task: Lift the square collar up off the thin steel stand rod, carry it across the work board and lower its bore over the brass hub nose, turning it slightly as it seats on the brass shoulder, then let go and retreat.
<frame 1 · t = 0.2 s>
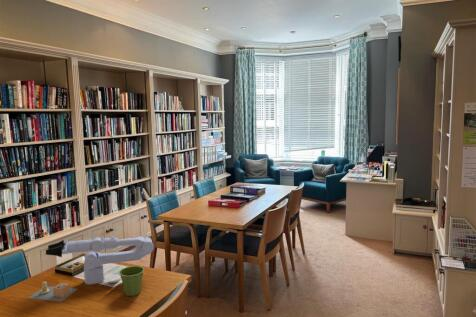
hand: (47, 250, 170), 21 cm above the table, fingers open, 7 cm apart
work board: (53, 296, 166), on the table
plant pot: (132, 293, 168), on the table
collar: (61, 294, 165), point 1 cm above the table, touching work board
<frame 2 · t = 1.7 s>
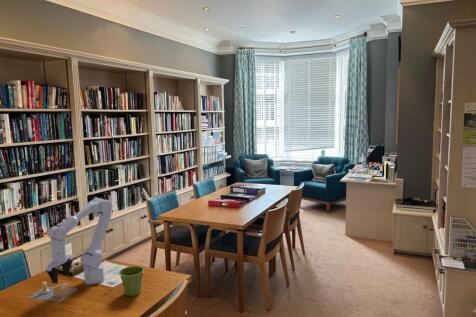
hand: (60, 279, 165), 9 cm above the table, fingers open, 7 cm apart
nothing on the table moved.
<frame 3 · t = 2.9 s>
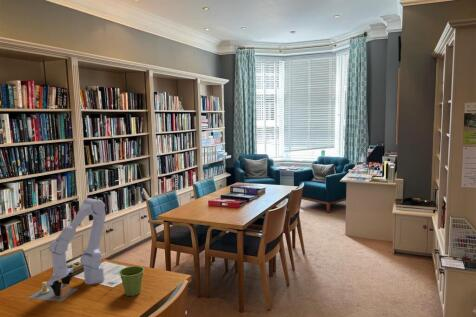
hand: (61, 292, 165), 2 cm above the table, fingers closed on collar, 5 cm apart
collar: (61, 294, 165), point 1 cm above the table, touching gripper, work board
everything else where it was.
when the fingers open (3 cm above the table, at t = 6.8 s): collar stays where it is, resting on work board.
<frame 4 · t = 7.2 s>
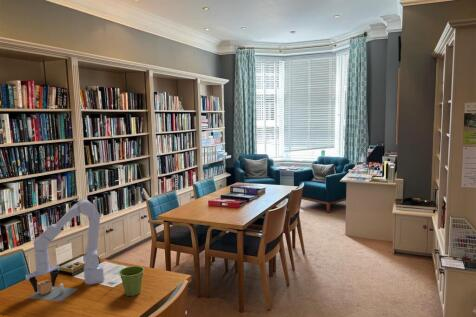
hand: (44, 288, 167), 3 cm above the table, fingers open, 7 cm apart
collar: (44, 290, 167), point 2 cm above the table, touching work board
everything else where it was.
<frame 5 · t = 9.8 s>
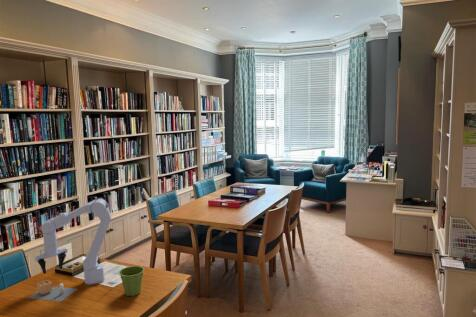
hand: (52, 270, 174), 9 cm above the table, fingers open, 7 cm apart
nothing on the table moved.
at the end: collar 0.1 cm from the target spot, point 2.5 cm above the table; collar tilted 0°; the gripper is holding nothing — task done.
